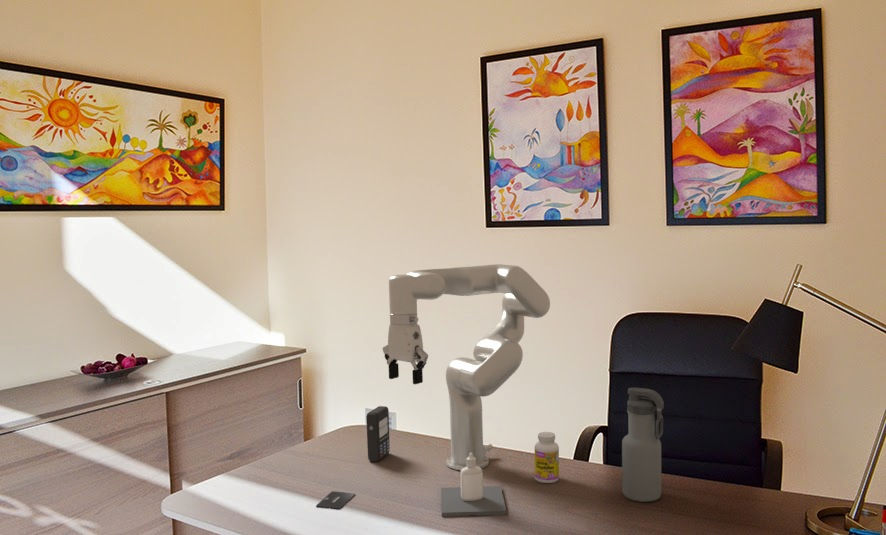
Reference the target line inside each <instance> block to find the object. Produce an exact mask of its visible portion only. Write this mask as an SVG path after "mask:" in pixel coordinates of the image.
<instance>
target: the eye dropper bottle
mask: <svg viewBox="0 0 886 535" xmlns="http://www.w3.org/2000/svg"><path fill="white" fill-rule="evenodd" d="M466 461H467V467H465V468H463V469H462V470H460V473H459V474H460V475H459V476H460V477H459V478H460V487H461V498H462V500H464V501H475V500H480V499H482V498H483V486H484V481H483V480H484V479H483V478H484V476H483V475H484V473H483V468H482V469H481V468H480V467H478V466H476V458H475V457H473V454H472V453H470V454H469V457H468V458H467V459H466Z"/></svg>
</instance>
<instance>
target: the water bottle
mask: <svg viewBox="0 0 886 535" xmlns="http://www.w3.org/2000/svg"><path fill="white" fill-rule="evenodd" d="M627 394H628V400H627V404H626V405H627V407H626V408H627V409H626V411H627V412H626V413H627V416H628V422H627V423H628V424H627V425H628V433H627V434H626V435H625V436H624V437H623V438H622V440H621V457H622V458H621V472H622V475H621V478H622V480H621V481H622V482H621V485H622V494H623V496H624V497H626V498H627V499H629V500H631V501H634V502H640V503H651V502H655V501H658V500H659V499H660V498H661V497H662V496H661V495H662V442H661V440H660V439H661V437H662V436H663V434H664V416H663V415H662V411H663V410H664V408H665V405H664V404H665V402H664V399H663V397H662V396H661V394H659V393H658V392H657V391H656V390H653V389H650V388H642V387H629V388H627ZM655 415H656V418H655ZM655 419H656V420H655ZM659 426H660V427H659Z"/></svg>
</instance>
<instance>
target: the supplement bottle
mask: <svg viewBox="0 0 886 535" xmlns="http://www.w3.org/2000/svg"><path fill="white" fill-rule="evenodd" d="M537 439H538V441H537V442H536V443H535V445H534V478H535V480H536V481H537V482H539V483H542V484H553V483H556V482H557V481H559V479H560V478H559V477H560V453H559V452H560V449H559V448H560V446H559V445H558V443H557V442H556V433H555V432H551V431H550V432H549V431H541V432H539V433H538V434H537Z"/></svg>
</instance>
